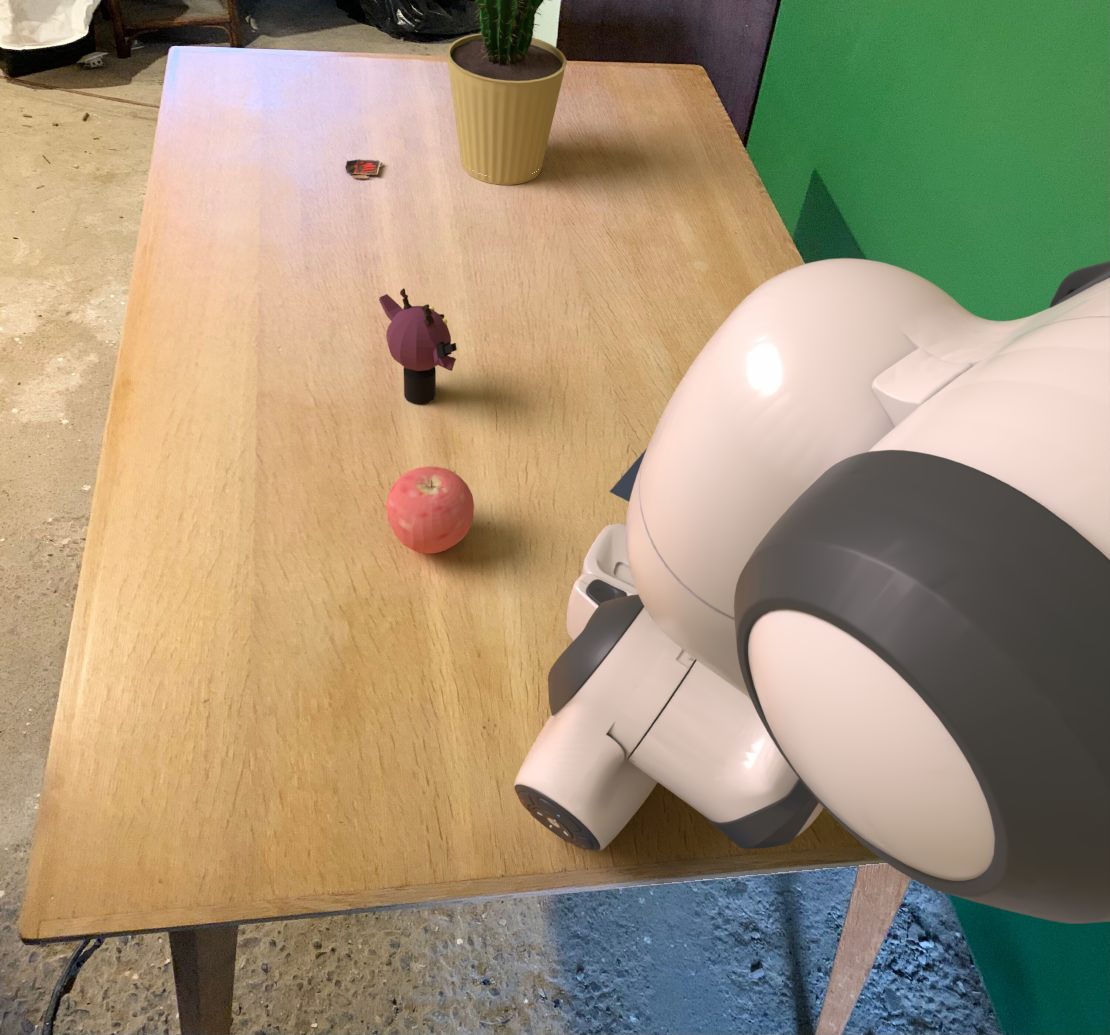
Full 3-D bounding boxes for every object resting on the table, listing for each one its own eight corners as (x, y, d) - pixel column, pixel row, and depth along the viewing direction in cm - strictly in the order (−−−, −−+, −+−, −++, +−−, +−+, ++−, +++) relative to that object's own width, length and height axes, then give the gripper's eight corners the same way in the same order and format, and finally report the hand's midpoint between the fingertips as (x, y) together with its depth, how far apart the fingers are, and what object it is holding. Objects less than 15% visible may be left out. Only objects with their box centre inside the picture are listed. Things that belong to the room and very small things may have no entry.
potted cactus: (467, 199, 125) (473, -54, 103) (431, 144, 134) (429, -99, 112) (573, 185, 130) (601, -59, 108) (531, 134, 139) (549, -101, 117)
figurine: (455, 422, 96) (457, 325, 87) (375, 418, 95) (369, 319, 86) (459, 372, 101) (461, 275, 92) (383, 367, 100) (378, 270, 92)
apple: (486, 555, 84) (489, 493, 78) (408, 582, 82) (406, 519, 76) (452, 499, 88) (453, 437, 83) (377, 523, 86) (372, 459, 80)
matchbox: (343, 162, 129) (343, 159, 128) (381, 160, 130) (381, 157, 130) (348, 179, 126) (348, 176, 125) (387, 177, 127) (386, 174, 127)
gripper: (799, 707, 67) (865, 583, 75) (556, 573, 73) (641, 473, 82) (776, 751, 72) (840, 630, 80) (549, 622, 78) (630, 522, 86)
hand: (738, 549), depth 81 cm, fingers closed
